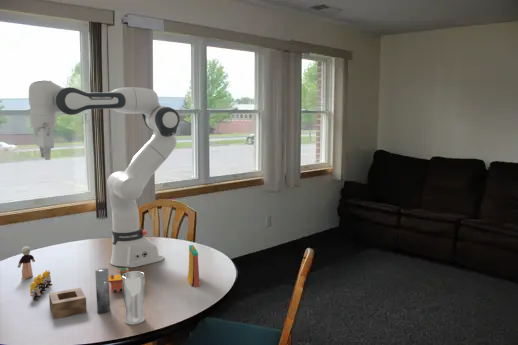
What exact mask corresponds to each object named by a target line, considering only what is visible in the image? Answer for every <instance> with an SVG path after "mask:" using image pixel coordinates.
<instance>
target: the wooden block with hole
mask: <svg viewBox="0 0 518 345" xmlns="http://www.w3.org/2000/svg"><path fill="white" fill-rule="evenodd" d="M48 298H49V302H48V303H49V309H50V312H51V315H52V319H53V320H54V319H55V320H56V319H60V318H64V317H70V316H75V315H80V314H84V313H85V314H86V313H88V312H87V311H88V310H87V297H86V295H85V293H84V291H83V289H82V288H81V287H77V288H76V287H75V288H71V289H67V290H66V289H65V290H59V291H55V292H49V293H48Z"/></svg>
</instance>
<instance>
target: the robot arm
mask: <svg viewBox="0 0 518 345" xmlns="http://www.w3.org/2000/svg"><path fill="white" fill-rule="evenodd" d="M28 105H29V107H30V112H29V121H30V128H32V129H33V135H34V140H35V144H36V146H38V147H39V151H40V152H39V153H40V157H41V159H44V160H46V161H50V160H51V152H52V150H51V149H54V148H55V147H54V146H55V144H54V143H55V142H54V131H53V129H54V128H56V127H57V123H56V122H57V120H56V113H61V114H66V115H69V116H70V115H71V116H73V115H77V114H79V113H82V112H84V111H86V110H87V111H88V110H111V111H114V112H115V113H117V114H127V115H129V114H130V115H135V114H141V115H142V119H143V123H144V124H145V126H146V127H147V128H148V129H149V130H151V131H153V133H152V135H151V137H150V139H149V140H148V141H147V142H146V143H145V144H144V145H143V146H142V147H141V148H140V149H139V150H138V152H137V153H136V154H135V155H133V157H132V159H131V161H130V163H129V164H128V166H127V168H126V169H125V170H118V171H115V172H113V173H111V174H110V175H109V176H108V178H107V181H106V184H107V186H106V187H107V189H108V197H109V203H110V208H111V216H112V218H111V220H112V230H111V243H112V253H111V258H110V262H109V263H110V264H111V265H112V266H115V267H124V268H137V267H141V266H144V265H150V264H154V263H157V262H162V261H163V260H164V254H162V253H161V252H160V251H159V250H158V249H159V248H158V247H157V244H156V243H155V242H153V241H152V240H151V239H149V238H147V237H146V236H147V235H148V231H147V230H145V229H143V228H140V213H139V212H140V211H139V208H138V205H137V199H139V198H140V197H141V196H142V194H143V192H144V189H145V188H146V185H147V184H148V182H149V181H150V180H151V178H152V176H153V175H154V173H156V171H157V170H158V169H159V168H160V167H161V166H162V165H163V163H164V162H165V161H166V160H167V159H168V158H169V156H171V154H172V153H173V151H174V149H175V148H176V146H177V144H178V143H177V139H176V137H175V134H176V133H177V131H178V130H177V129H178V128H179V127H178V126H179V125H180V121H181V120H180V118H181V117H180V115H179V113H178V111H177V110H176V109H174V108H172V107H170V106H164V105H163V106H162V105H160V103H159V96H158V93H157V92H156V91H155V90H153V89H151V88H146V87H137V86H136V87H135V86H133V87H132V86H130V87H129V86H127V87H118V88H116V89H113V90H111V91H107V92H88V91H87V92H86V91H82V90H81V89H78V88H77V87H71V86H69V87H63V86H61V85H59V84H58V83H57V84H56V83H55V82H53V81H52V80H51V79H40V80H35V81H33V82H31V83H30V84H29V87H28Z"/></svg>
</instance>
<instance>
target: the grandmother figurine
mask: <svg viewBox="0 0 518 345" xmlns="http://www.w3.org/2000/svg"><path fill="white" fill-rule="evenodd" d="M30 253H31V247H30V246H23V247H22V248H21V254H23V255H22V256H21V257H20V260H19V261H18V264H17V268H18V269H20V268H21V280H22V281H26V280H28V279H31V278H32V279H33V278H34V276H33V269H32V268H33V267H32V263H35V262H36V260H35V257H34V255H32V254H30ZM21 266H22V267H21Z"/></svg>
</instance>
